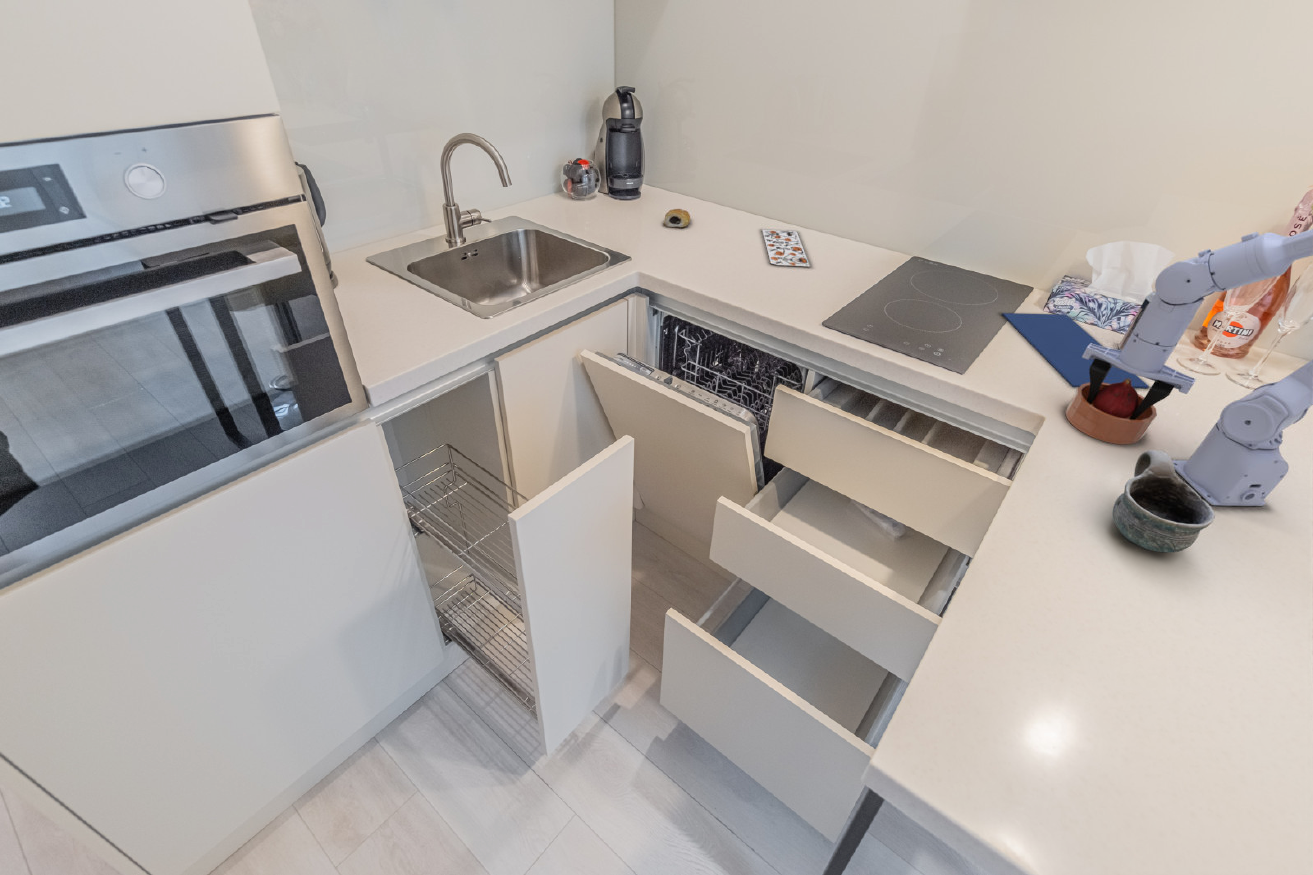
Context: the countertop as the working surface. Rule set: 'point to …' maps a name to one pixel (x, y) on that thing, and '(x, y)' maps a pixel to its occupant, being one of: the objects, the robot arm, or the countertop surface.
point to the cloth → (1065, 347)
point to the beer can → (1136, 320)
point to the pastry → (677, 218)
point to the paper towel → (785, 248)
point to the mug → (1160, 507)
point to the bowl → (1107, 420)
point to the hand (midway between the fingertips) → (1110, 410)
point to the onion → (1117, 399)
